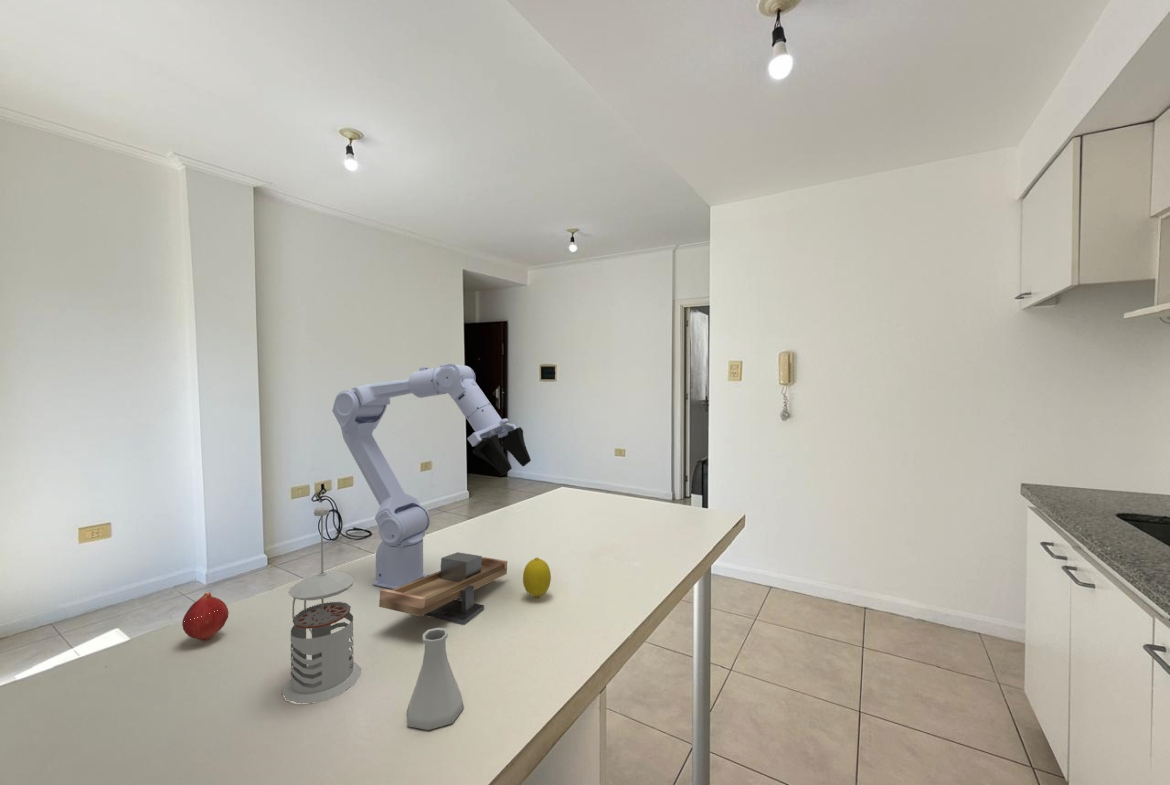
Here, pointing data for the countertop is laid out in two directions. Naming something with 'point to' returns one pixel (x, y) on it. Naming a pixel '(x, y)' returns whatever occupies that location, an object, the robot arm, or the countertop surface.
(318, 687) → the french press
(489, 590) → the countertop surface
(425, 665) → the flask
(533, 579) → the lemon
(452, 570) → the steel block
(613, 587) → the countertop surface
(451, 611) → the pivot stand
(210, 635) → the red pomegranate
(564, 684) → the countertop surface
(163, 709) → the countertop surface
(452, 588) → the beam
